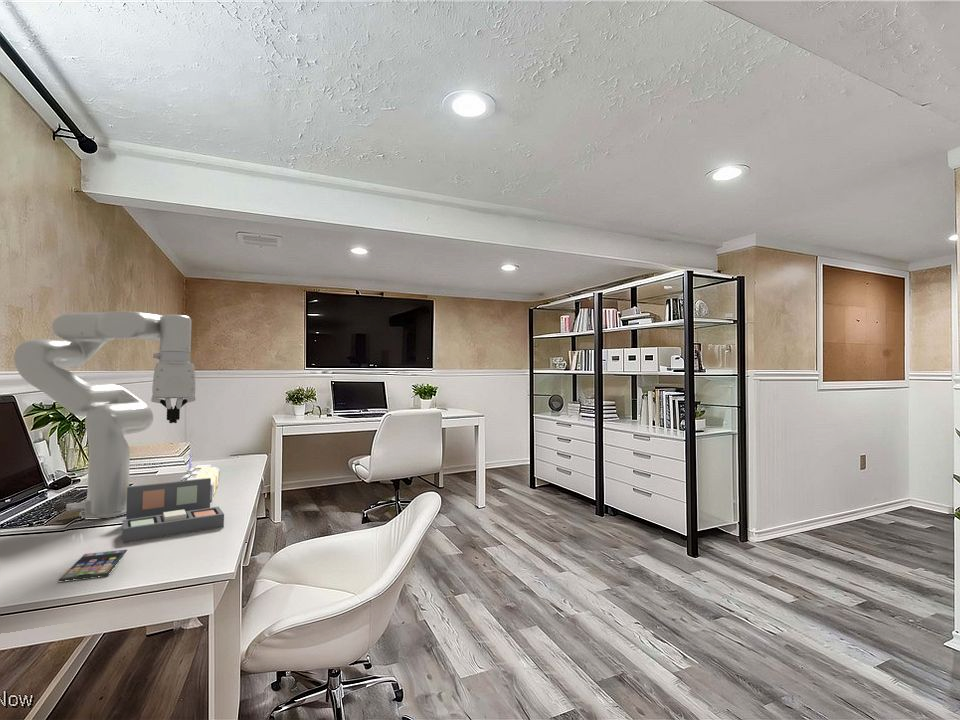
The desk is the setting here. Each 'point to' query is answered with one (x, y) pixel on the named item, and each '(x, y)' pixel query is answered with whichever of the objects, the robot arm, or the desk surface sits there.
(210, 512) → the key terracotta
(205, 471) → the white yellow ridged block
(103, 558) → the smartphone
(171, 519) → the key cream
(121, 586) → the desk surface
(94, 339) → the robot arm
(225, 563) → the desk surface
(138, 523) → the key sage
